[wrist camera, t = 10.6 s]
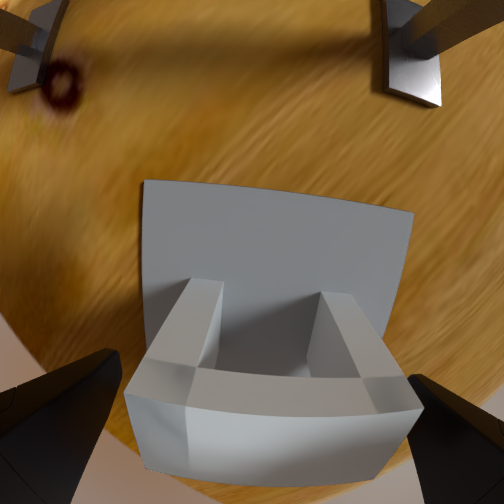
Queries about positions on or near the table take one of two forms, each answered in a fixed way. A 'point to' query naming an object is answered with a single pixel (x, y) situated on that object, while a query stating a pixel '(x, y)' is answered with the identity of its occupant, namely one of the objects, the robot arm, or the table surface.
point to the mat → (267, 264)
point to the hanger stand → (394, 42)
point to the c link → (269, 401)
